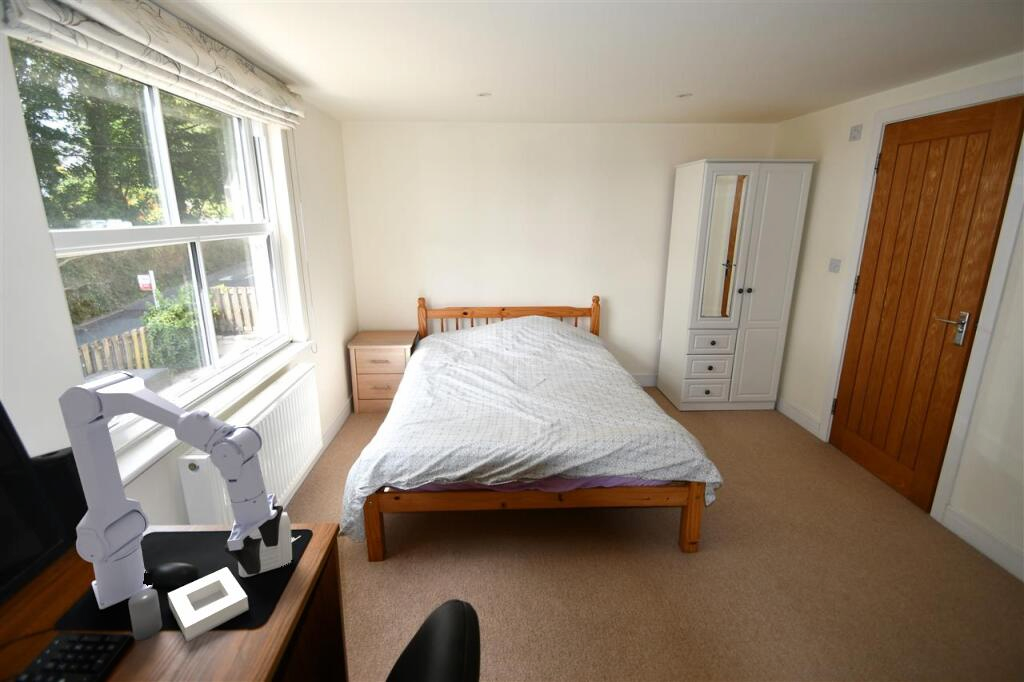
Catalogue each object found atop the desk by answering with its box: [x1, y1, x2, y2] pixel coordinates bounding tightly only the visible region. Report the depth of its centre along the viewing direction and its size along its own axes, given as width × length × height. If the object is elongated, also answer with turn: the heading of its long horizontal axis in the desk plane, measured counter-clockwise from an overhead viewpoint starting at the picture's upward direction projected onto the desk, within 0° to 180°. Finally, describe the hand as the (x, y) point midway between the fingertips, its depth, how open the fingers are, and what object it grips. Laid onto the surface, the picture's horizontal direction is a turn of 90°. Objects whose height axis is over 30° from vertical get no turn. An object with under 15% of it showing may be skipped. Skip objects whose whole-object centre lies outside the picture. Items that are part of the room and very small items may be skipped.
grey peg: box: [127, 588, 163, 641], centre depth 82 cm, size 4×4×7 cm
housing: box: [167, 567, 249, 642], centre depth 88 cm, size 11×10×3 cm
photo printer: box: [237, 511, 293, 578], centre depth 98 cm, size 10×4×12 cm, turn 124°
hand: (263, 558), depth 87 cm, fingers open, 7 cm apart
